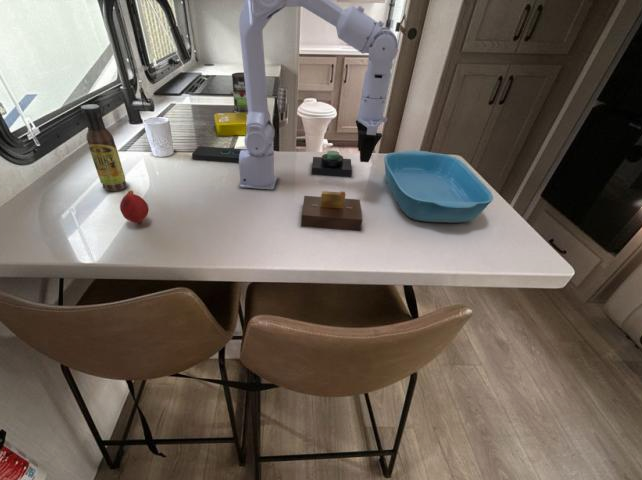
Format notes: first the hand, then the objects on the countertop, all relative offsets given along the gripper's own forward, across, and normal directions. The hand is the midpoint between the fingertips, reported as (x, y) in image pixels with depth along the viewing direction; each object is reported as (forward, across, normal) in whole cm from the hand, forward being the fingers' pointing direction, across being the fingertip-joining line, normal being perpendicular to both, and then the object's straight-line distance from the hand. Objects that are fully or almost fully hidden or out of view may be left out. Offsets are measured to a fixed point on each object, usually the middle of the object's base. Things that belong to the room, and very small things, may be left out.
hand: (363, 156), depth 86 cm
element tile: (+10, +49, +45) cm, 67 cm away
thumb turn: (+7, -15, +7) cm, 18 cm away
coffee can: (+10, +76, +46) cm, 89 cm away
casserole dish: (+10, -1, -19) cm, 21 cm away
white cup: (+10, +20, +63) cm, 67 cm away
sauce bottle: (+10, -7, +66) cm, 67 cm away
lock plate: (+10, -16, +7) cm, 20 cm away
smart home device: (+10, +20, +42) cm, 48 cm away
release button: (+6, +14, +7) cm, 17 cm away
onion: (+10, -24, +52) cm, 59 cm away
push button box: (+10, +14, +7) cm, 19 cm away
